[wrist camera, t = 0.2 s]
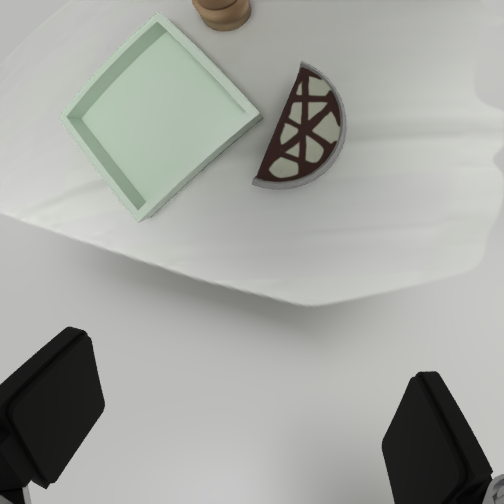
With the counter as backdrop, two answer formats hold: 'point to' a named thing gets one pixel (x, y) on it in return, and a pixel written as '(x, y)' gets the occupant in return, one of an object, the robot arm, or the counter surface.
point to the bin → (156, 116)
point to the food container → (304, 133)
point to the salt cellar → (223, 13)
